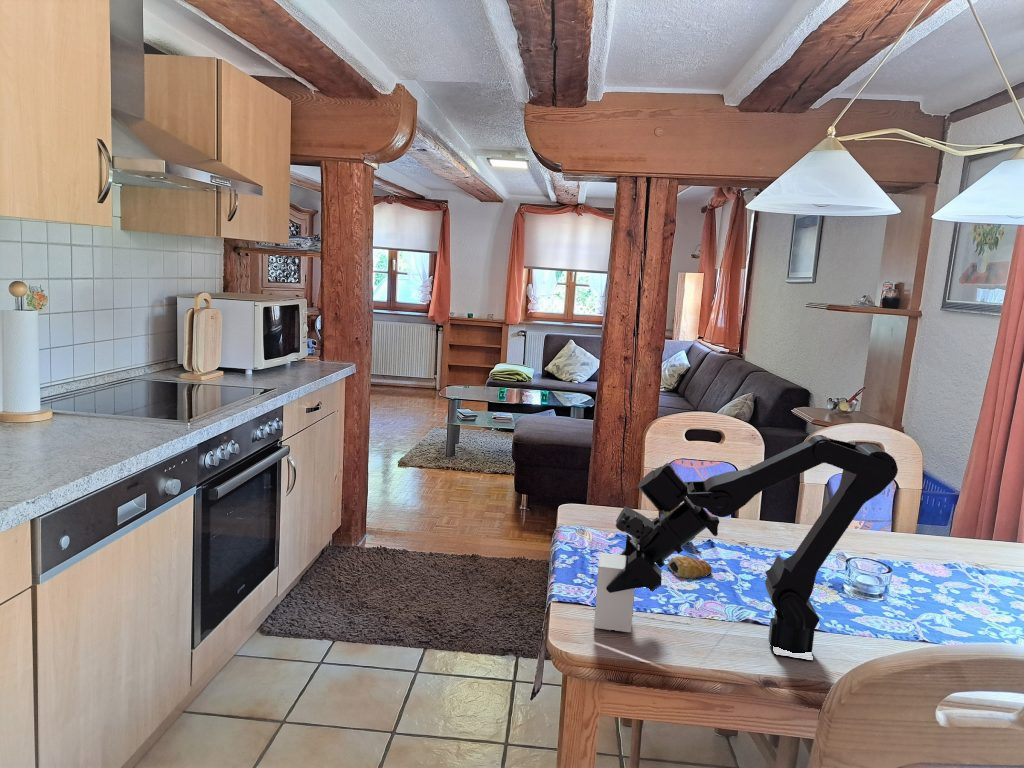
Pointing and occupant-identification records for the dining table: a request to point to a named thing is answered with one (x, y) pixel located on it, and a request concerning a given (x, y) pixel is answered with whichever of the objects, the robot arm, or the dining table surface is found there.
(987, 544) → the dining table surface
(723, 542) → the dining table surface
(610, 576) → the tall white rectangular prism
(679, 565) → the pastry
